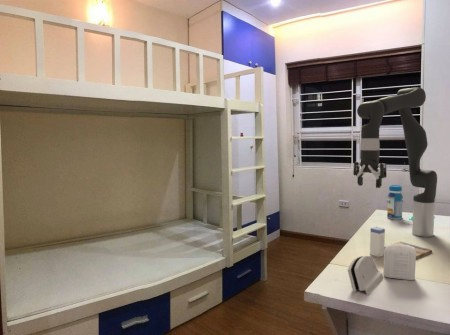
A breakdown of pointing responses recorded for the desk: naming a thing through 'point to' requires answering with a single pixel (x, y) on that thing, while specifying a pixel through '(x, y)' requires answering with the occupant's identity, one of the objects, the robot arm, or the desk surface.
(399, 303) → the desk surface
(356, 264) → the white black curved block
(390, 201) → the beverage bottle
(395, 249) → the photo printer
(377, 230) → the cartridge
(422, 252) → the pad
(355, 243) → the desk surface
